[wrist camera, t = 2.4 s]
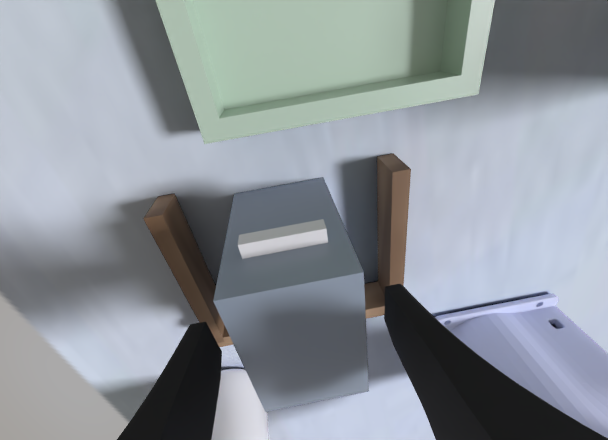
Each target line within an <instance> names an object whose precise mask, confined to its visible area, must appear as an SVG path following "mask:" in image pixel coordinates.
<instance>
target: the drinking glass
mask: <svg viewBox="0 0 608 440" xmlns="http://www.w3.org/2000/svg"><path fill="white" fill-rule="evenodd" d="M211 440H269V427H268V414H267V412H265V410H264V408H263V406H262V404H261V402H260V400H259V398H258V396H257V393H256V391H255V389H254V387H253V385H252V383H251V381H250V378H249V376H248V374H247V372H246V370H245V369H226V370H222V371H221V380H220V387H219V394H218V400H217V407H216V413H215V420H214V426H213V433H212V439H211Z"/></svg>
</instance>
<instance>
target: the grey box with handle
mask: <svg viewBox="0 0 608 440" xmlns="http://www.w3.org/2000/svg"><path fill="white" fill-rule="evenodd" d="M213 302H214V304H215V306H216V308H217V310H218V312H219V314H220V317H221V319H222V321H223V323H224V325H225V327H226V329H227V332H228V334H229V336H230V338H231V340H232V342H233V344H234V346H235V349H236V351H237V353H238V355H239V357H240V359H241V361H242V364H243V366H244V368H245V370H246V372H247V374H248V376H249V378H250V381H251V383H252V385H253V387H254V389H255V391H256V393H257V396H258V398H259V400H260V402H261V404H262V406H263V408H264V410H265V412H268V411H273V410H278V409H283V408H288V407H293V406H298V405H303V404H308V403H313V402H318V401H323V400H328V399H333V398H338V397H343V396H348V395H353V394H358V393H363V392H368V391H369V384H368V360H367V336H366V312H365V288H364V271H363V269H362V267H361V264H360V262H359V260H358V257H357V255H356V253H355V250H354V248H353V246H352V243H351V241H350V239H349V236H348V234H347V232H346V229H345V227H344V225H343V222H342V220H341V218H340V215H339V213H338V211H337V208H336V206H335V204H334V201H333V199H332V197H331V194H330V192H329V190H328V187H327V185H326V183H325V180H324V178H323V177H322V178H317V179H312V180H306V181H301V182H295V183H290V184H284V185H279V186H274V187H268V188H263V189H257V190H252V191H246V192H241V193H236V194H234V198H233V203H232V208H231V213H230V218H229V223H228V229H227V234H226V239H225V244H224V249H223V254H222V259H221V264H220V269H219V274H218V279H217V284H216V290H215V295H214V300H213Z"/></svg>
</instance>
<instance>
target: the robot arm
mask: <svg viewBox="0 0 608 440" xmlns="http://www.w3.org/2000/svg"><path fill="white" fill-rule="evenodd" d="M558 301H559V298H558V297H557V296H556V295H555V294H547V295H541V296H536V297H531V298H526V299H521V300H516V301H511V302H506V303H501V304H496V305H491V306H485V307H480V308H475V309H470V310H465V311H460V312H455V313H450V314H445V315H440V316H436V317H434V316H433V315H432V314H431V313H429V312H428V311H427V310H426V309H425V308H424V307H423V306H422V305H421V304H420V303H419V302H418V301H417V300H416V299H415V298H414V297H413V296H412V295H411V294H410V293H409V292H408V291H407V289H406V288H405V287H404V286H403V285H401V284H395V285H389V286H385V313H384V320H385V322H386V325H387V328H388V331H389V334H390V337H391V339H392V342H393V345H394V347H395V349H396V351H397V353H398V355H399V357H400V360H401V362H402V364H403V366H404V368H405V370H406V372H407V374H408V376H409V378H410V380H411V382H412V384H413V387H414V389H415V391H416V393H417V395H418V397H419V399H420V401H421V403H422V406H423V408H424V410H425V412H426V415H427V417H428V420H429V423H430V425H431V428H432V430H433V433H434V436H435V438H436V440H608V353H607V352H606V351H605V350H604V349H603V348H601V347H600V346H599V345H598V344H597V343H596V342H595V341H594V340H593V339H592V338H591V337H589V336H588V335H587V334H586V333H585V332H584V331H583V330H582V329H581V328H580V327H579V326H577V325H576V324H575V323H574V322H573V321H572V320H571V319H570V318H569V317H568V316H566V315H565V314H564V313H563V312H562V311H561V310H560V309H559V308H558V307H557V306H556V305H557V303H558ZM221 357H222V351H221V349H220V347H219V346H218V344H217V342H216V340H215V338H214V336H213V334H212V332H211V330H210V328H209V327H208V325H207V323H206V322H201V323H196V324H191V325H190V326H189V327H188V329H187V331H186V333H185V334H184V336H183V338H182V340H181V341H180V343H179V345H178V347H177V348H176V350H175V352H174V354H173V355H172V357H171V359H170V360H169V362H168V364H167V365H166V367H165V369H164V370H163V372H162V374H161V375H160V377H159V379H158V380H157V382H156V383H155V385H154V387H153V388H152V390H151V391H150V393H149V394H148V396H147V397H146V399H145V400H144V402H143V403H142V405H141V406H140V408H139V409H138V411H137V412H136V414H135V415H134V417H133V418H132V420H131V421H130V422H129V424H128V425H127V427H126V428H125V429H124V431H123V432H122V433H121V435H120V436H119V438H118V439H117V440H211V439H212V433H213V426H214V420H215V413H216V407H217V400H218V394H219V387H220V380H221Z"/></svg>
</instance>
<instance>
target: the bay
mask: <svg viewBox="0 0 608 440" xmlns="http://www.w3.org/2000/svg"><path fill="white" fill-rule="evenodd" d="M410 173H411V169H410V168H409V167H408V166H407V165H406V164H405V163H403V162H402V161H401V160H400V159H399V158H398V157H397V156H395V155H394V154H388V155H382V156H377V210H378V281H377V282H372V283H367V284H364V288H365V312H366V318H371V317H376V316H381V315H384V313H385V286H389V285H395V284H401V285H403V283H404V267H405V252H406V236H407V220H408V205H409V189H410ZM143 219H144V221H145V223H146V225H147V226H148V228H149V230H150V232H151V234H152V236H153V238H154V239H155V241H156V243H157V245H158V247H159V249H160V250H161V252H162V254H163V256H164V258H165V260H166V262H167V263H168V265H169V267H170V269H171V271H172V273H173V274H174V276H175V278H176V280H177V282H178V284H179V286H180V287H181V289H182V291H183V293H184V295H185V297H186V298H187V300H188V302H189V304H190V306H191V308H192V310H193V311H194V313H195V315H196V317H197V319H198V321H199V322H200V323H201V322H206V323H207V325H208V327H209V328H210V330H211V332H212V334H213V336H214V338H215V340H216V342H217V344H218V346H219V347H223V346H228V345H233V342H232V340H231V338H230V336H229V334H228V332H227V329H226V327H225V325H224V323H223V321H222V319H221V317H220V314H219V312H218V310H217V308H216V306H215V304H214V302H213V300H214V295H215V290H216V286H215V284H214V281H213V279H212V277H211V275H210V272H209V270H208V268H207V266H206V263H205V261H204V259H203V257H202V254H201V252H200V250H199V248H198V245H197V243H196V241H195V239H194V236H193V234H192V232H191V230H190V227H189V225H188V223H187V221H186V218H185V216H184V214H183V212H182V209H181V207H180V205H179V203H178V200H177V198H176V196H175V194H170V195H165V196H159V197H157V199H156V200H155V202H154V203H153V205H152V206H151V208H150V209H149V211H148V212H147V214H146V215H145V217H144V218H143Z"/></svg>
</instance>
